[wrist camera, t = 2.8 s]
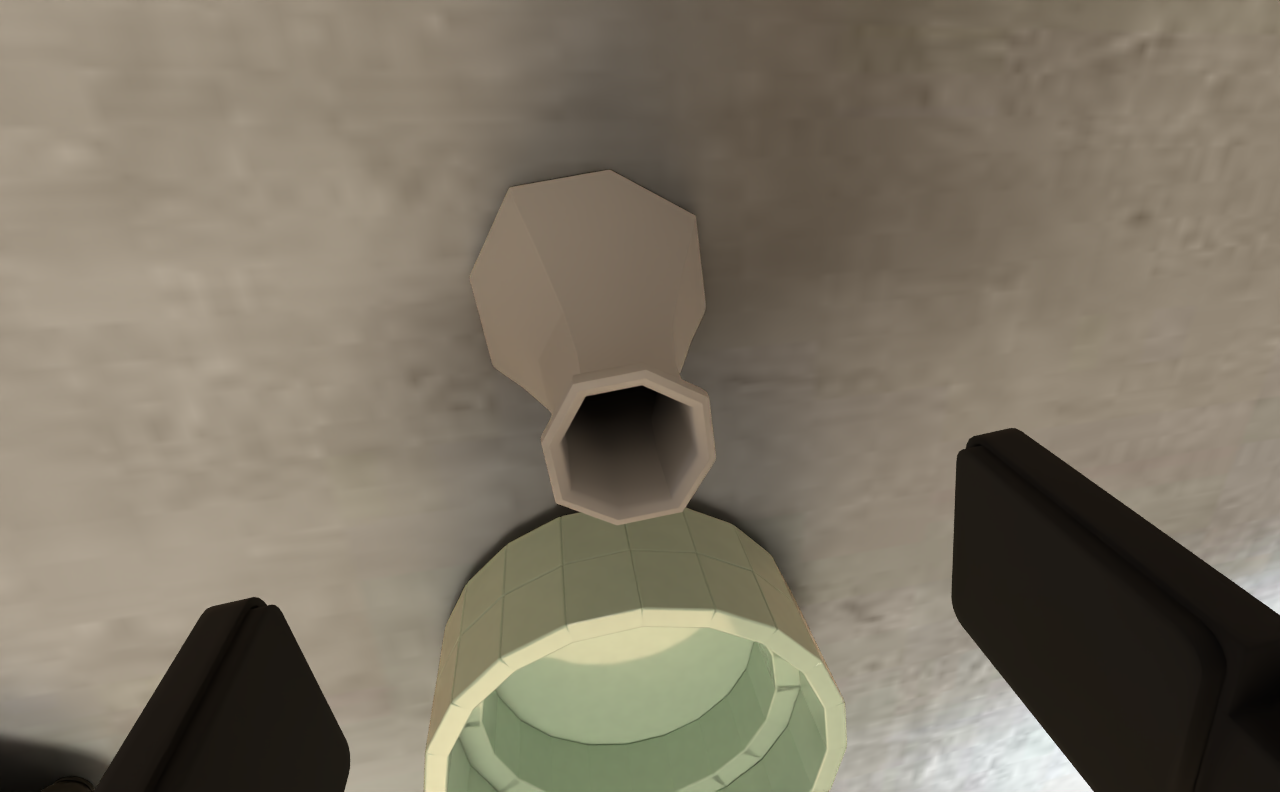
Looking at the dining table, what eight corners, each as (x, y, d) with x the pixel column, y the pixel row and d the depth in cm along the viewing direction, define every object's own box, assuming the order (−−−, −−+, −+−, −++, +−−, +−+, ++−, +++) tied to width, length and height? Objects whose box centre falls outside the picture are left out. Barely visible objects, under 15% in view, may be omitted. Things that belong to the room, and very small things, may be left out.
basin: (773, 456, 25) (839, 564, 20) (796, 712, 31) (852, 849, 25) (399, 536, 24) (360, 671, 19) (496, 783, 30) (488, 938, 25)
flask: (729, 187, 21) (878, 282, 12) (682, 406, 24) (772, 617, 15) (479, 147, 19) (430, 219, 10) (461, 385, 22) (412, 603, 13)
